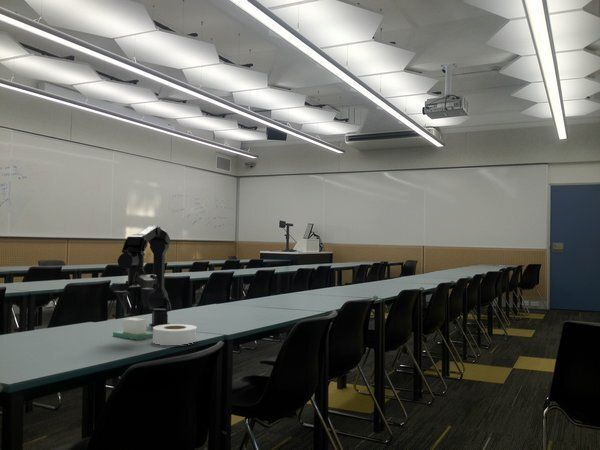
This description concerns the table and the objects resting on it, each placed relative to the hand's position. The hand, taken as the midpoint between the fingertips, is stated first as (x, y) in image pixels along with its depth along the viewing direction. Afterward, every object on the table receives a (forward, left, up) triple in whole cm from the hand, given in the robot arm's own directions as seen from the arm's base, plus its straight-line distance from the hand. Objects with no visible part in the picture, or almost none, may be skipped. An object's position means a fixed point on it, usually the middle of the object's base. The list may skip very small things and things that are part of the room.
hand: (134, 308), depth 204 cm
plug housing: (0, 0, -9) cm, 9 cm away
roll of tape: (+20, +2, -11) cm, 23 cm away
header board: (0, 0, -11) cm, 11 cm away
